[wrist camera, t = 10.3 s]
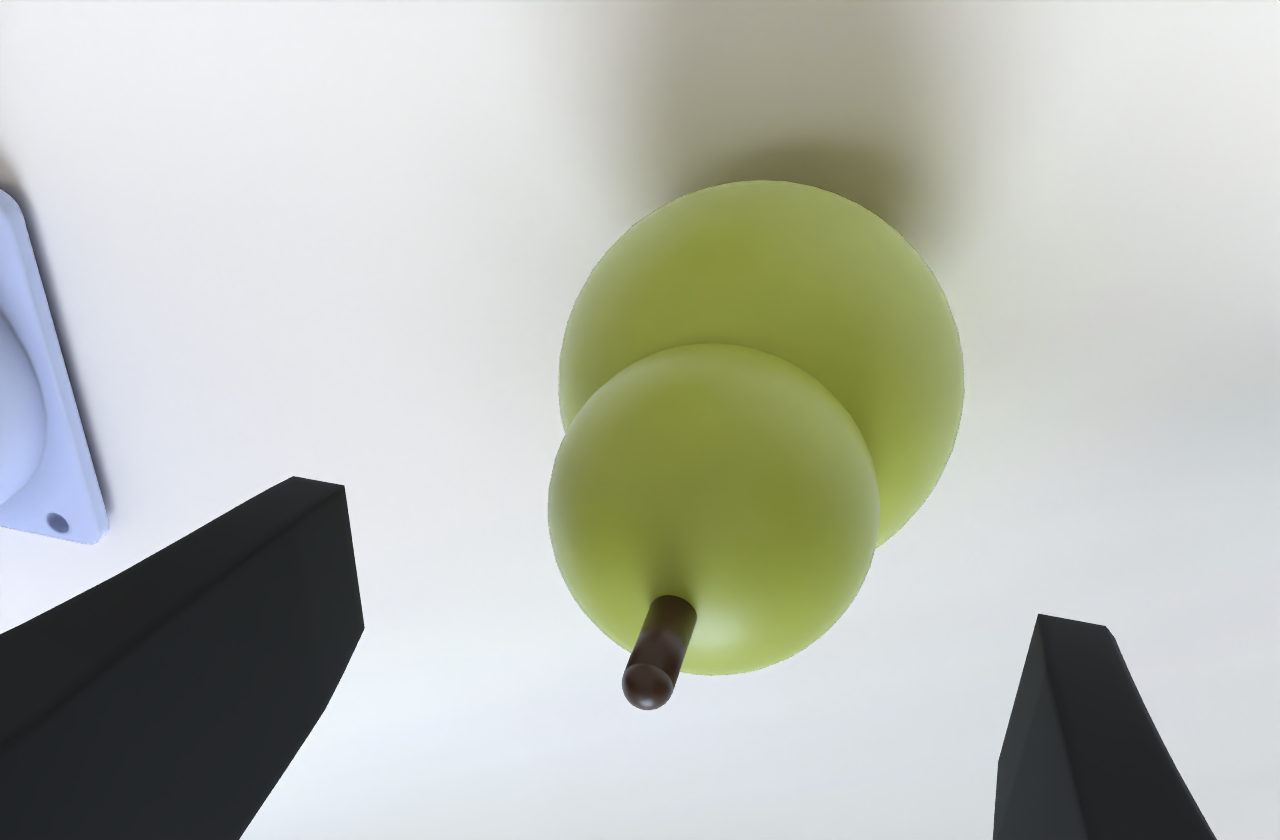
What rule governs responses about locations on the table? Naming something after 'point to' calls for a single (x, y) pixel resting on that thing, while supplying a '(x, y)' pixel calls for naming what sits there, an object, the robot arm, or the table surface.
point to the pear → (745, 425)
